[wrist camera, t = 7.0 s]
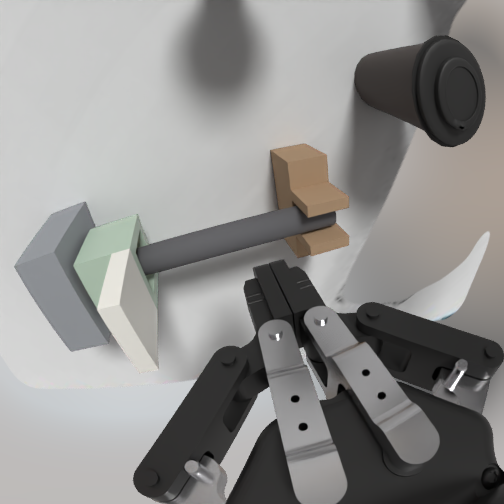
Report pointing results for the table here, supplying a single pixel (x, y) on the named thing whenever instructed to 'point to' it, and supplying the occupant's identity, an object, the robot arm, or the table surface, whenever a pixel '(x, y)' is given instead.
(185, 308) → the table surface
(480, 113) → the coffee cup
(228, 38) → the table surface
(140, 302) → the white-faced green block
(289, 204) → the rod rig
